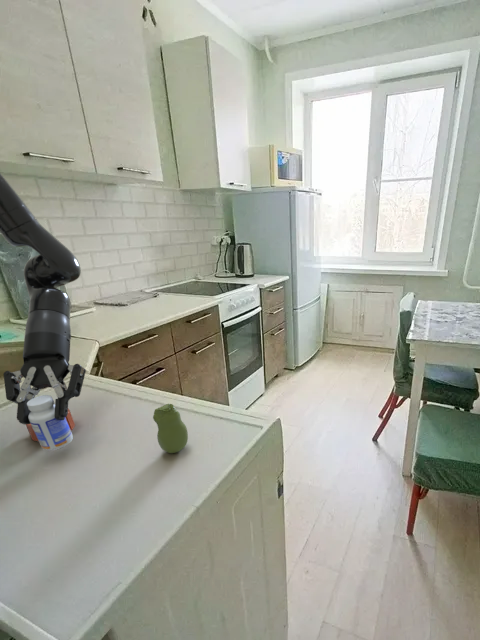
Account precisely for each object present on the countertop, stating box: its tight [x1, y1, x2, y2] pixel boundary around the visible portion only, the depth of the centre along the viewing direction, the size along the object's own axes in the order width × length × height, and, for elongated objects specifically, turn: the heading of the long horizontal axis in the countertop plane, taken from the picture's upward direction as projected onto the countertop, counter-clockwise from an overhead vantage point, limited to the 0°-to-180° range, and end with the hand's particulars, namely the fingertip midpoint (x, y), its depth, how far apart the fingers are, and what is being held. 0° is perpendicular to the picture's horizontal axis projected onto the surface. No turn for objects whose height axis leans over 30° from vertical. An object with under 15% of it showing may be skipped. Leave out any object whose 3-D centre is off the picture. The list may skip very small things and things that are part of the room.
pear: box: [152, 403, 189, 454], centre depth 67 cm, size 6×5×10 cm
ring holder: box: [25, 407, 76, 443], centre depth 77 cm, size 8×8×4 cm
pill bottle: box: [27, 394, 74, 451], centre depth 67 cm, size 5×5×10 cm
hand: (42, 421), depth 65 cm, fingers closed on pill bottle, 5 cm apart
